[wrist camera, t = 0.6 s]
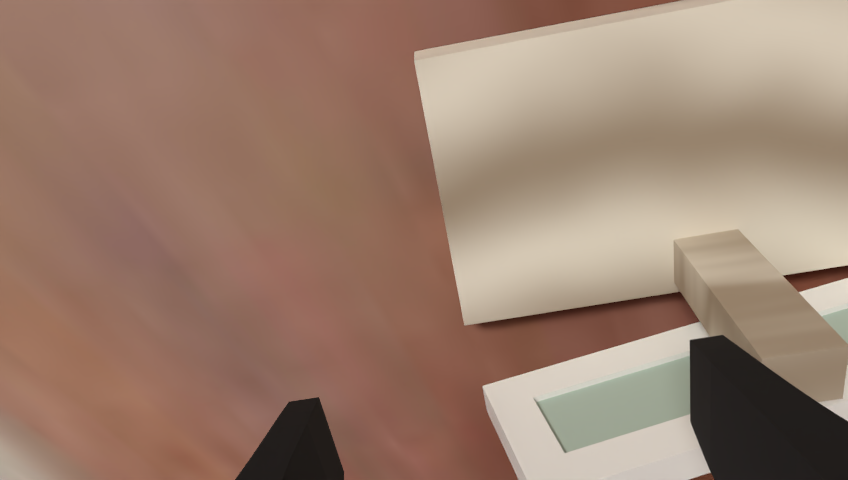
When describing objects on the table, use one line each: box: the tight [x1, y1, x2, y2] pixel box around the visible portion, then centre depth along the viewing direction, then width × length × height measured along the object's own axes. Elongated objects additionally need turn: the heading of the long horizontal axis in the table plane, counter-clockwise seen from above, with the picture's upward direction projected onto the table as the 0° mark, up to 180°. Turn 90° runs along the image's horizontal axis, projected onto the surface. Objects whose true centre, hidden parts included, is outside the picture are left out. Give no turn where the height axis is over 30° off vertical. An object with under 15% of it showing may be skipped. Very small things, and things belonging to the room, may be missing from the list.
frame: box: [482, 278, 848, 480], centre depth 19 cm, size 2×14×4 cm, turn 100°
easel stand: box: [414, 0, 848, 402], centre depth 18 cm, size 9×16×7 cm, turn 100°
